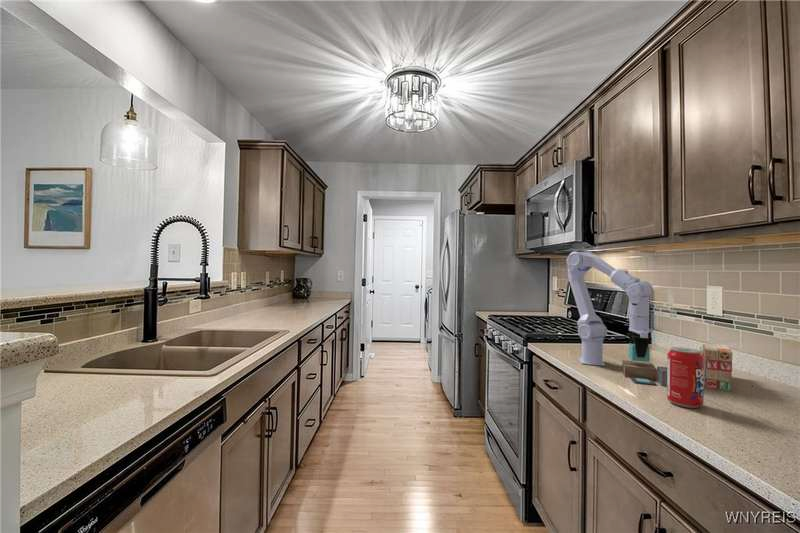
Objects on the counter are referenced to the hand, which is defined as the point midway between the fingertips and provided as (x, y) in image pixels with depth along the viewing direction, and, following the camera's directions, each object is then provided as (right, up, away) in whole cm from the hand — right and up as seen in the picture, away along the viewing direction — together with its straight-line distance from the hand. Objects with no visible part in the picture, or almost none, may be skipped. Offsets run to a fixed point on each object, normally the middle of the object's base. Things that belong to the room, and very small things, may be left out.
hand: (638, 355), depth 126 cm
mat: (-3, -7, -7) cm, 11 cm away
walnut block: (0, -7, 0) cm, 7 cm away
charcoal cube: (+3, -7, -10) cm, 12 cm away
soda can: (-5, -7, -27) cm, 28 cm away
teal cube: (0, -2, 0) cm, 2 cm away
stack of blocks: (+22, -8, -6) cm, 24 cm away
